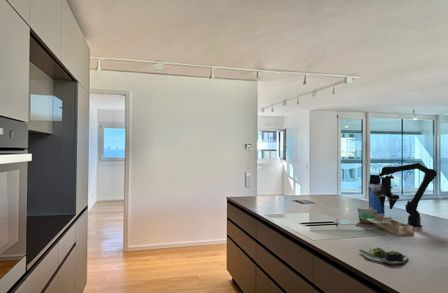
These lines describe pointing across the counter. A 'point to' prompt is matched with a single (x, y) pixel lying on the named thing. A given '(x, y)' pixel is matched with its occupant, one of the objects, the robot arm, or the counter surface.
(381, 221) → the cover
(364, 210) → the food container
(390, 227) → the box
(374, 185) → the string lights box
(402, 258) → the salad plate
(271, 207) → the counter surface
